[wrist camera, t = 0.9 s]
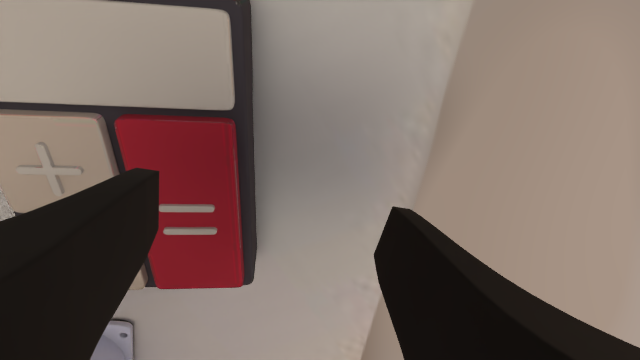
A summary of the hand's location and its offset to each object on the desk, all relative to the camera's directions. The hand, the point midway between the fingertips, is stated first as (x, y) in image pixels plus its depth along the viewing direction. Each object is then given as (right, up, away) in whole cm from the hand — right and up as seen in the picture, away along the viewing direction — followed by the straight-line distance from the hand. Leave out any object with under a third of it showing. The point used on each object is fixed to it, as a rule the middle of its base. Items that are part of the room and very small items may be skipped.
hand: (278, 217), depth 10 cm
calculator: (-8, +3, +8) cm, 11 cm away
